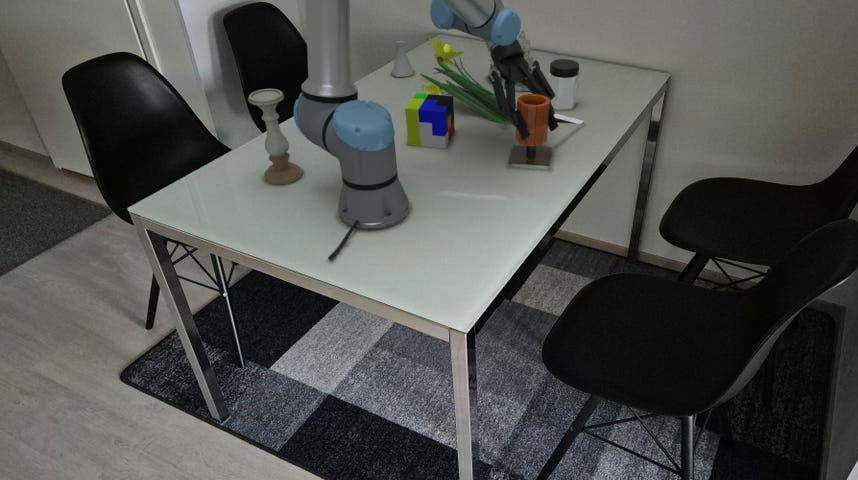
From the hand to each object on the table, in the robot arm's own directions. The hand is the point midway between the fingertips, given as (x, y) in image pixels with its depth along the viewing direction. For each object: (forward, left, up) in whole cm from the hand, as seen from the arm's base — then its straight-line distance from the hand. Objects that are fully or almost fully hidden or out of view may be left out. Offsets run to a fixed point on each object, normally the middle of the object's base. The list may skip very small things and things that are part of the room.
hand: (540, 133), depth 150 cm
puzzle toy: (+11, +29, -9) cm, 32 cm away
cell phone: (+19, -3, -9) cm, 21 cm away
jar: (+38, -4, -9) cm, 39 cm away
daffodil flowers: (+30, +22, -9) cm, 38 cm away
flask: (+55, +48, -9) cm, 73 cm away
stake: (+3, +2, -9) cm, 9 cm away
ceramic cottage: (+53, +12, -9) cm, 55 cm away
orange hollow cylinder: (+3, +2, -3) cm, 5 cm away
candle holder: (-14, +60, -9) cm, 63 cm away
